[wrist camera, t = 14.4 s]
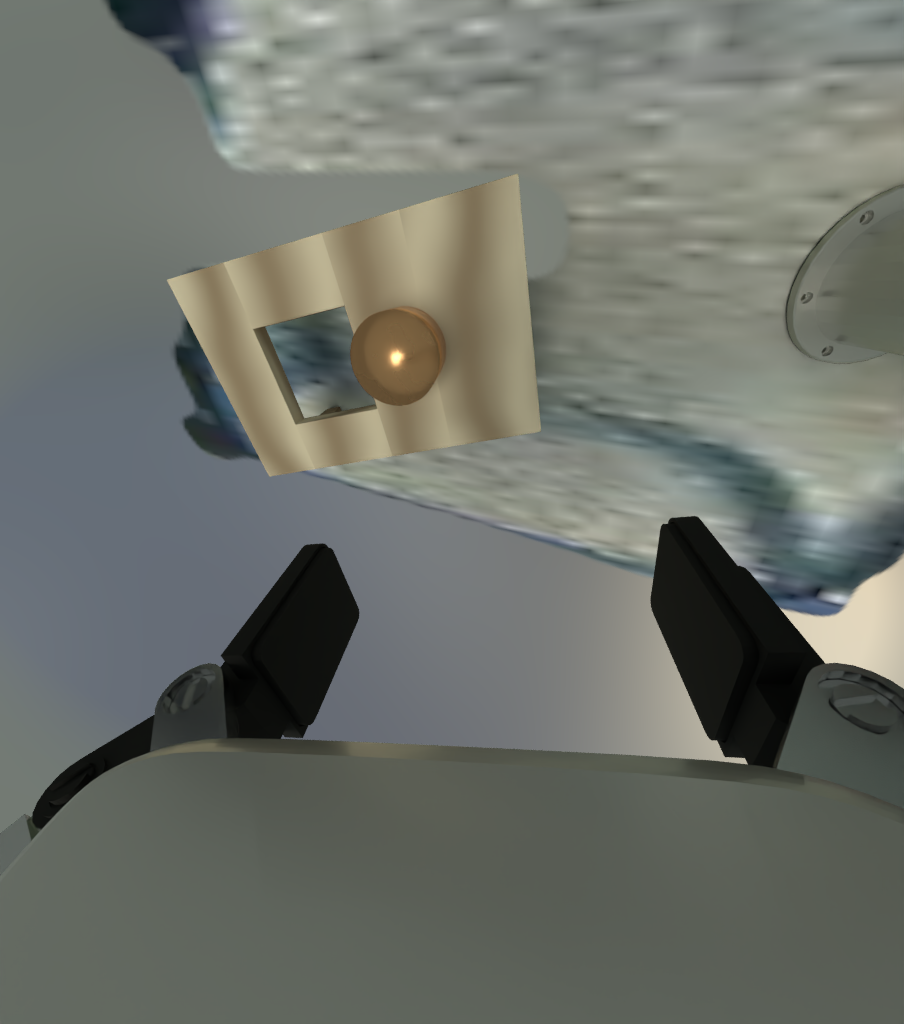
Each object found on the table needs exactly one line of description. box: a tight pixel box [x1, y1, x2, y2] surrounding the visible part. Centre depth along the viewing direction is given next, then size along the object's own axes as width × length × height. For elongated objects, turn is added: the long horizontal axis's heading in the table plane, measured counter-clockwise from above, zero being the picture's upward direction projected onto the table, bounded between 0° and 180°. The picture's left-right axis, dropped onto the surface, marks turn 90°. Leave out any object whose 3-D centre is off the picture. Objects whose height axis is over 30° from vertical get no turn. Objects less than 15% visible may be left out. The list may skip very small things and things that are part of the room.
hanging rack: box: [167, 174, 541, 476], centre depth 30 cm, size 22×14×14 cm, turn 102°
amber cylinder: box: [350, 306, 446, 406], centre depth 26 cm, size 5×5×14 cm
